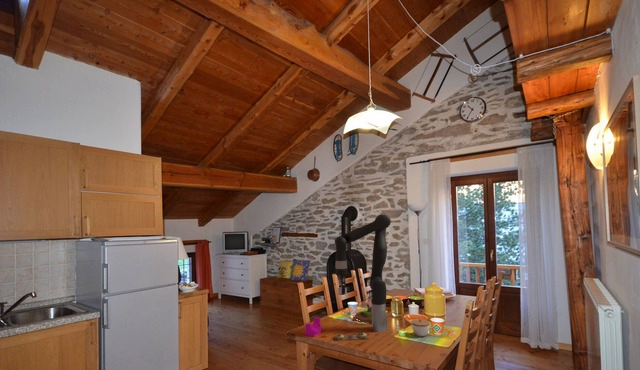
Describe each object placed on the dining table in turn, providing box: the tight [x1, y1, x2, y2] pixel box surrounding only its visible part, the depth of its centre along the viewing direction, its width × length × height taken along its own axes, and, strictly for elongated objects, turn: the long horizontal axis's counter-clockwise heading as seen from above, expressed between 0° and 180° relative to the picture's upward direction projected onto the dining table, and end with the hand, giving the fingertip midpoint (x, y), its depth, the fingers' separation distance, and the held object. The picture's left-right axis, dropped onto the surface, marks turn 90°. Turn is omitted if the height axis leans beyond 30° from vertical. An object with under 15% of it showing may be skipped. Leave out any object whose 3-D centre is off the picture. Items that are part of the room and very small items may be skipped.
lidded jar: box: [411, 318, 430, 337], centre depth 220 cm, size 11×11×9 cm
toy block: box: [304, 316, 322, 338], centre depth 228 cm, size 15×6×8 cm, turn 156°
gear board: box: [333, 332, 370, 342], centre depth 216 cm, size 21×6×3 cm, turn 95°
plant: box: [354, 302, 372, 324], centre depth 254 cm, size 20×20×11 cm
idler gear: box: [337, 286, 348, 296], centre depth 228 cm, size 6×5×4 cm
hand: (342, 292), depth 230 cm, fingers open, 8 cm apart
